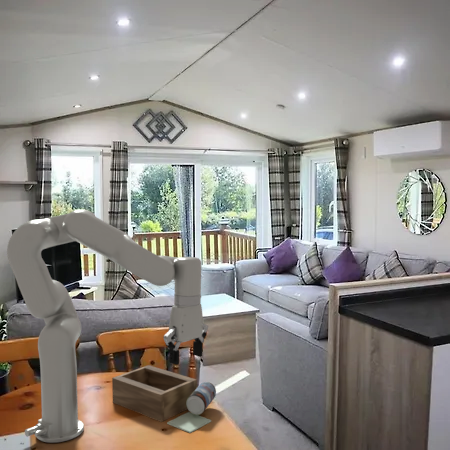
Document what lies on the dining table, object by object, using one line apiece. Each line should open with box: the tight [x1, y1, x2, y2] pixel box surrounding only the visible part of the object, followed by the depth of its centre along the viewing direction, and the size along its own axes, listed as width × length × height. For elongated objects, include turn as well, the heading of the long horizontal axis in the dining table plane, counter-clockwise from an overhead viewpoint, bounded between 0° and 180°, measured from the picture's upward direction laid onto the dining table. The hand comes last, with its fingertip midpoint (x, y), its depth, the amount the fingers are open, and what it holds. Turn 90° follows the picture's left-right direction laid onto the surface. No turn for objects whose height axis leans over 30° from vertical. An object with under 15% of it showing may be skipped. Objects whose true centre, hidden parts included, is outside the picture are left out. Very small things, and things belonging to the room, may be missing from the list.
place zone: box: [166, 411, 212, 434], centre depth 139 cm, size 9×9×1 cm
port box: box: [111, 364, 198, 423], centre depth 152 cm, size 15×22×8 cm
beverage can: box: [186, 381, 217, 416], centre depth 145 cm, size 6×7×12 cm
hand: (186, 359), depth 138 cm, fingers open, 9 cm apart
